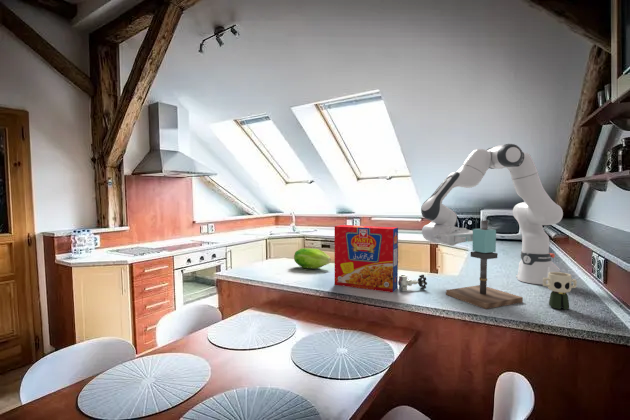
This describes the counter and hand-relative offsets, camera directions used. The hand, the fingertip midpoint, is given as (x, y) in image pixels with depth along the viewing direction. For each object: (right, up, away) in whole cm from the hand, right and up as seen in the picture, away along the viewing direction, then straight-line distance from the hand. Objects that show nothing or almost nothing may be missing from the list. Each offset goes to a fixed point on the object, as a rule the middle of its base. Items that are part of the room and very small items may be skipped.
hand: (474, 239), depth 144 cm
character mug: (+24, -25, -15) cm, 38 cm away
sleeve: (+2, -5, -4) cm, 6 cm away
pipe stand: (+2, -24, -3) cm, 24 cm away
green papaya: (-69, -22, +54) cm, 90 cm away
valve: (-24, -24, +10) cm, 35 cm away
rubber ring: (+2, -7, -4) cm, 8 cm away
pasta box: (-44, -24, +16) cm, 52 cm away
